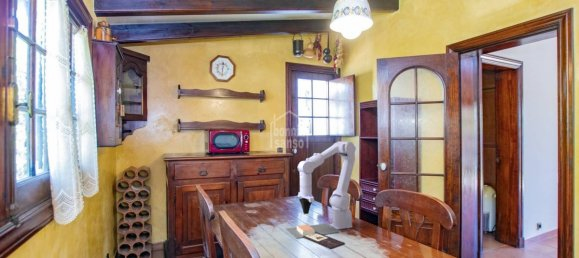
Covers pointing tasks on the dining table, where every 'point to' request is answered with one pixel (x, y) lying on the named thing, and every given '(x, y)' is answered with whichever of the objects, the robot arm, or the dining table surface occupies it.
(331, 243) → the chocolate bar
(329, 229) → the mat
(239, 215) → the dining table surface
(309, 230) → the tile
